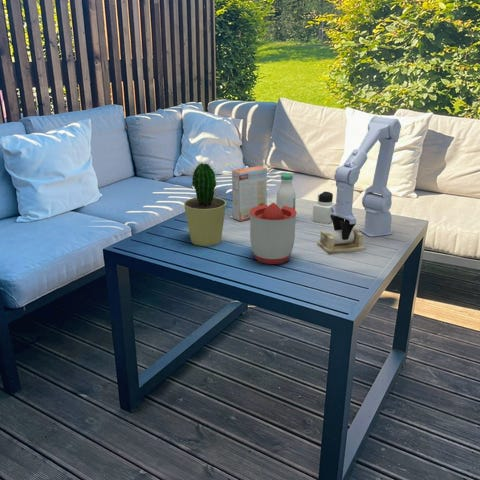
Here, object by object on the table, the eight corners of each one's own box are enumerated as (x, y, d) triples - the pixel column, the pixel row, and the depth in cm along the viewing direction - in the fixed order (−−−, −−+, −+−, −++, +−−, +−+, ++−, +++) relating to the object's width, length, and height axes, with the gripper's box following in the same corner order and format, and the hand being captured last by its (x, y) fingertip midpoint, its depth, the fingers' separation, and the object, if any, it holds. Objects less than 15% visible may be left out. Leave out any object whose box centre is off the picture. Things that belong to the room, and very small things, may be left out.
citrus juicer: (296, 249, 182) (298, 195, 175) (292, 269, 167) (295, 211, 159) (253, 246, 185) (254, 193, 178) (245, 265, 169) (246, 208, 162)
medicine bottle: (335, 219, 212) (337, 191, 208) (328, 224, 206) (330, 196, 202) (319, 216, 216) (321, 189, 211) (312, 221, 210) (313, 193, 206)
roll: (346, 238, 187) (348, 226, 185) (353, 245, 183) (355, 232, 181) (326, 240, 185) (328, 228, 182) (332, 247, 181) (334, 235, 178)
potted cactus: (235, 240, 191) (235, 161, 179) (205, 251, 180) (203, 168, 169) (207, 230, 200) (205, 154, 189) (177, 240, 190) (173, 161, 179)
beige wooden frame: (317, 244, 187) (317, 230, 185) (351, 239, 191) (352, 226, 189) (329, 254, 178) (330, 239, 176) (364, 249, 182) (366, 235, 180)
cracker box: (258, 212, 221) (259, 165, 213) (267, 216, 216) (268, 167, 208) (231, 218, 213) (231, 169, 206) (239, 222, 209) (239, 172, 201)
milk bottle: (289, 226, 204) (291, 178, 197) (272, 223, 208) (273, 175, 201) (297, 220, 210) (299, 173, 203) (281, 217, 214) (282, 171, 207)
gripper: (324, 195, 183) (322, 230, 188) (344, 207, 170) (341, 245, 175) (342, 194, 185) (339, 228, 190) (362, 205, 172) (359, 242, 177)
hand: (341, 236), depth 183 cm, fingers closed on roll, 5 cm apart
